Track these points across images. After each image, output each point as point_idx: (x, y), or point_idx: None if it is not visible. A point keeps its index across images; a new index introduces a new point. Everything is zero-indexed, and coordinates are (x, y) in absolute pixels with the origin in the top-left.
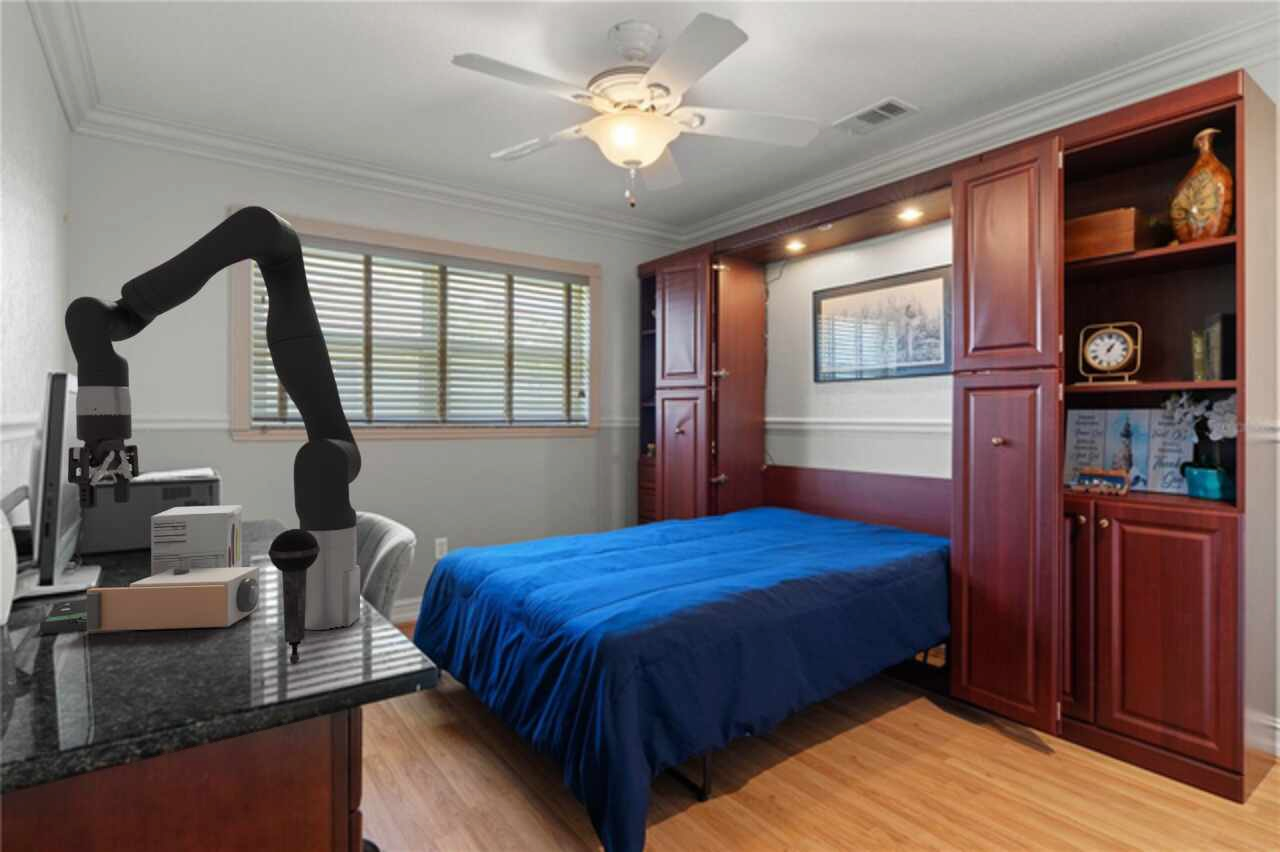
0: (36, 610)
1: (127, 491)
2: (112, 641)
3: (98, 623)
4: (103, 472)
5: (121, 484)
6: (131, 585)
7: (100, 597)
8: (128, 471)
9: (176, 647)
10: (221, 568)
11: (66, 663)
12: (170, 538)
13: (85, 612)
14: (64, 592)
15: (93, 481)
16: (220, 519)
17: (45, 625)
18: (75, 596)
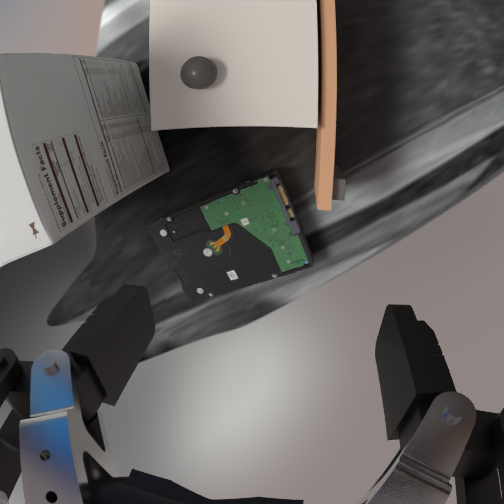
0: (181, 330)
1: (115, 316)
2: (377, 118)
3: (335, 166)
4: (405, 474)
5: (106, 370)
6: (317, 124)
7: (334, 176)
8: (41, 405)
9: (418, 10)
10: (157, 14)
11: (466, 134)
12: (79, 171)
13: (258, 231)
14: None
15: (462, 414)
16: (13, 65)
17: (311, 257)
18: None
